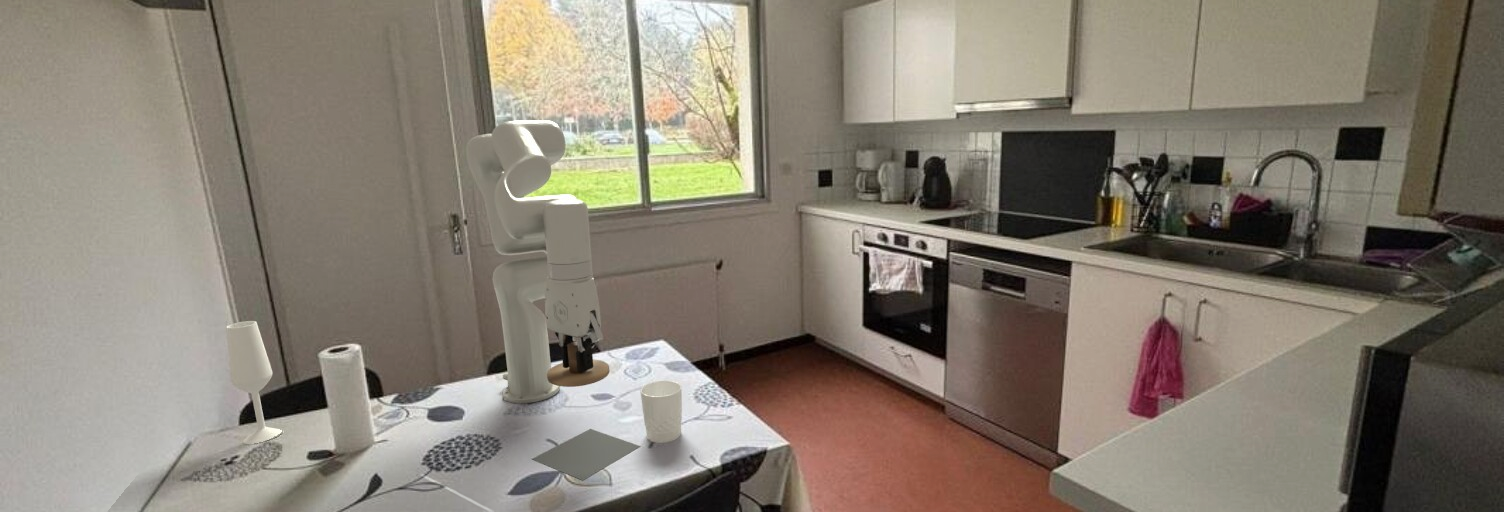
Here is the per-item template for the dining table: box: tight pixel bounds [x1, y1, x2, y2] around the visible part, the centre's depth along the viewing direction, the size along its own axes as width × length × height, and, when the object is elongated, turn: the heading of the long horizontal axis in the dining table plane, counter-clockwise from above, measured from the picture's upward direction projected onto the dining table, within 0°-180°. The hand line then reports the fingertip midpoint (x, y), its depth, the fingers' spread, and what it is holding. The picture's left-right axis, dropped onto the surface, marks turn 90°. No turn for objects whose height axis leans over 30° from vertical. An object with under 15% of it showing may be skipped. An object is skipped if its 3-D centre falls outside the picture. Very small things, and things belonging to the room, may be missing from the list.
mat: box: [531, 428, 641, 481], centre depth 118 cm, size 14×14×1 cm
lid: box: [547, 340, 611, 388], centre depth 115 cm, size 11×11×6 cm
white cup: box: [640, 380, 683, 444], centre depth 123 cm, size 8×8×10 cm
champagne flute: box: [226, 320, 283, 445], centre depth 127 cm, size 7×7×24 cm
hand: (578, 366), depth 115 cm, fingers closed on lid, 3 cm apart
